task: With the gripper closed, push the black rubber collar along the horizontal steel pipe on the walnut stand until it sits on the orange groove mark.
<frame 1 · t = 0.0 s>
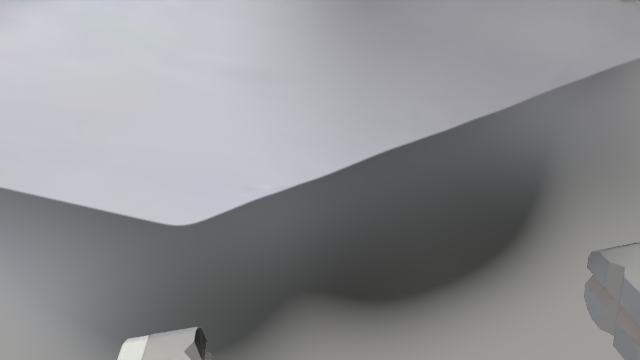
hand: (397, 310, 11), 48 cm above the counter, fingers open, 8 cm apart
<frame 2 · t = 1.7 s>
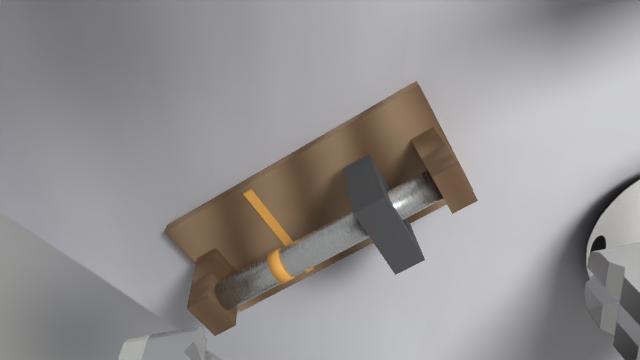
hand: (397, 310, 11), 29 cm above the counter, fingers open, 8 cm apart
collar: (381, 212, 38), point 6 cm above the counter, slide at -5.0 cm
pipe stand: (319, 204, 44), on the counter
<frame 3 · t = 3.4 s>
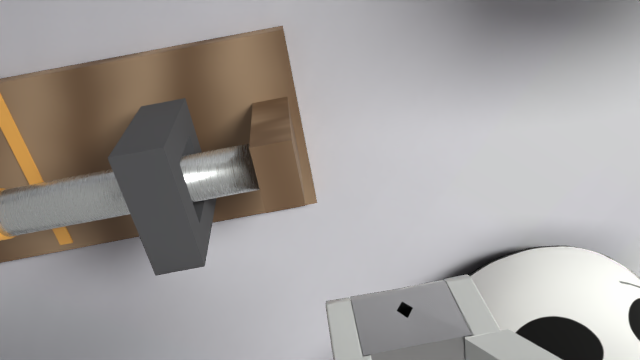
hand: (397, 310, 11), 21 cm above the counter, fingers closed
milk container: (517, 315, 40), on the counter
collar: (171, 182, 26), point 6 cm above the counter, slide at -5.0 cm
pipe stand: (104, 154, 30), on the counter
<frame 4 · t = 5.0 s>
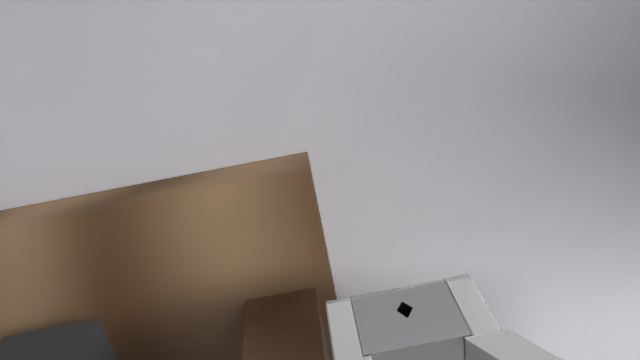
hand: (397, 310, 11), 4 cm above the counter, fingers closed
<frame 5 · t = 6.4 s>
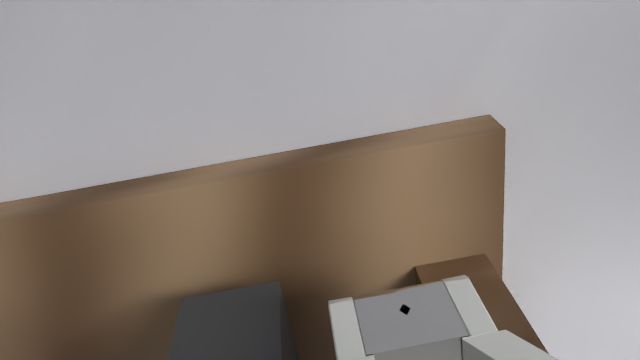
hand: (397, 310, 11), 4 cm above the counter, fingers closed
pipe stand: (111, 346, 16), on the counter
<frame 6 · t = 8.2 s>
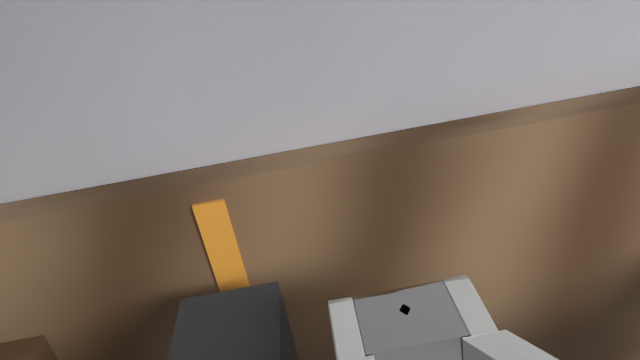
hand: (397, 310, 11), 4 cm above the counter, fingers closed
pipe stand: (379, 296, 16), on the counter
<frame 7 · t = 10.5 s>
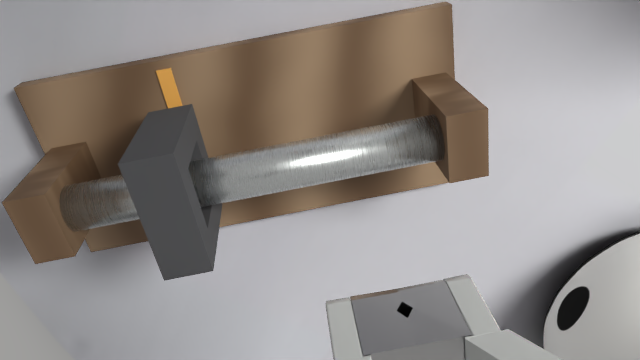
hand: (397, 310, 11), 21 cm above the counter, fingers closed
milk container: (629, 296, 41), on the counter
collar: (178, 187, 26), point 6 cm above the counter, slide at 4.0 cm
pipe stand: (256, 132, 31), on the counter
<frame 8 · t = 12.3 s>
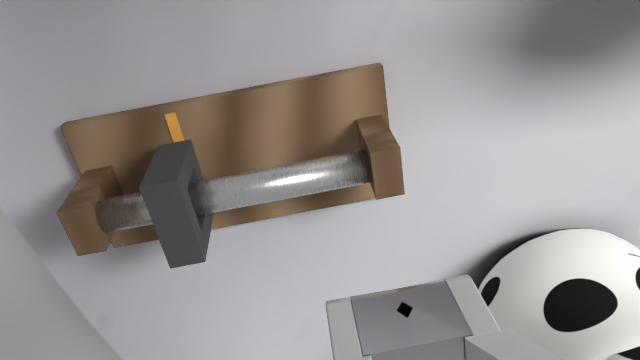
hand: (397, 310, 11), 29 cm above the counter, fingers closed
milk container: (545, 286, 50), on the counter
collar: (180, 201, 36), point 5 cm above the counter, slide at 4.0 cm
pipe stand: (240, 157, 40), on the counter
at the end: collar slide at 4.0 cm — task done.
